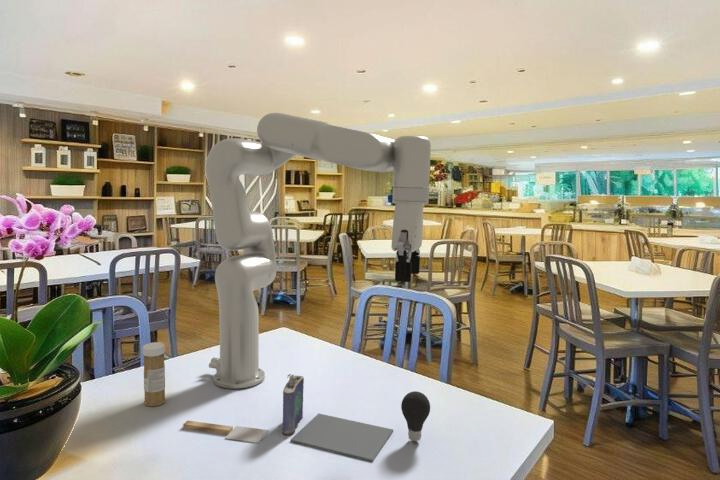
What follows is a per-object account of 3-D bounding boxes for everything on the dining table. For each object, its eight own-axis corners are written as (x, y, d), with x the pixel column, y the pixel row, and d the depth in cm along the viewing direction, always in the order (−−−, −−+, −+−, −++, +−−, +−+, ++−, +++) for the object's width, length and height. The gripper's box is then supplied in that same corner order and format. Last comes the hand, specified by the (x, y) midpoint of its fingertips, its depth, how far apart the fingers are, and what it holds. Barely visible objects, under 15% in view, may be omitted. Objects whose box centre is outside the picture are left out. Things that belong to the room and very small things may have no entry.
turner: (178, 432, 96) (178, 428, 96) (192, 421, 101) (192, 416, 101) (258, 444, 93) (258, 439, 93) (268, 431, 98) (268, 426, 97)
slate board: (290, 441, 94) (290, 439, 94) (318, 415, 105) (318, 413, 105) (372, 461, 87) (372, 459, 87) (393, 431, 99) (393, 429, 98)
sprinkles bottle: (145, 399, 110) (144, 342, 109) (166, 397, 112) (165, 340, 110) (142, 408, 106) (141, 348, 105) (165, 406, 107) (163, 347, 106)
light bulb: (421, 452, 91) (423, 401, 90) (395, 443, 94) (396, 394, 93) (433, 439, 96) (435, 391, 95) (407, 431, 99) (409, 384, 98)
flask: (292, 436, 96) (293, 384, 94) (278, 435, 96) (278, 383, 95) (304, 415, 105) (305, 367, 104) (291, 414, 105) (292, 366, 104)
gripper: (401, 195, 110) (399, 269, 112) (382, 196, 94) (380, 283, 96) (434, 196, 108) (431, 272, 110) (421, 197, 92) (417, 286, 94)
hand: (407, 277), depth 103 cm, fingers open, 9 cm apart
